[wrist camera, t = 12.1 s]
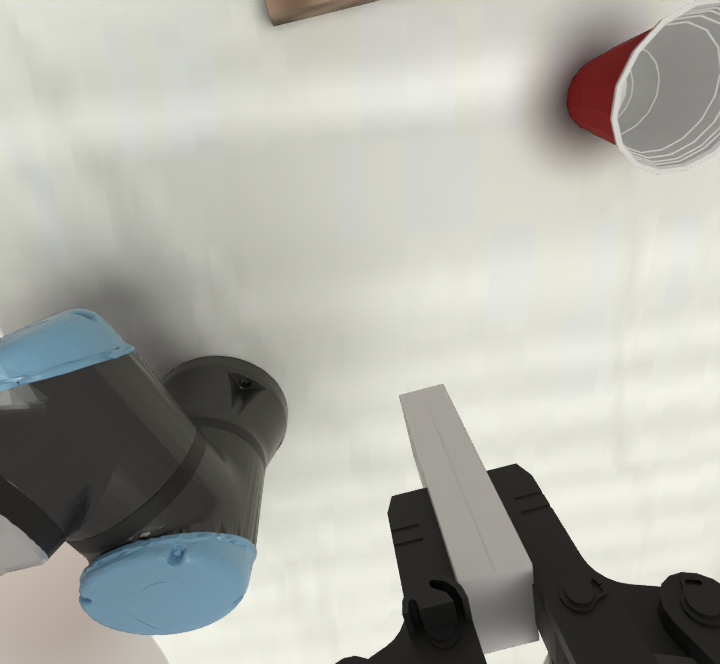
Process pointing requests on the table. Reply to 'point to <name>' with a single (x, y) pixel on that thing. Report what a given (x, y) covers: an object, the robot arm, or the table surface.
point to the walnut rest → (306, 8)
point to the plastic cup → (657, 92)
